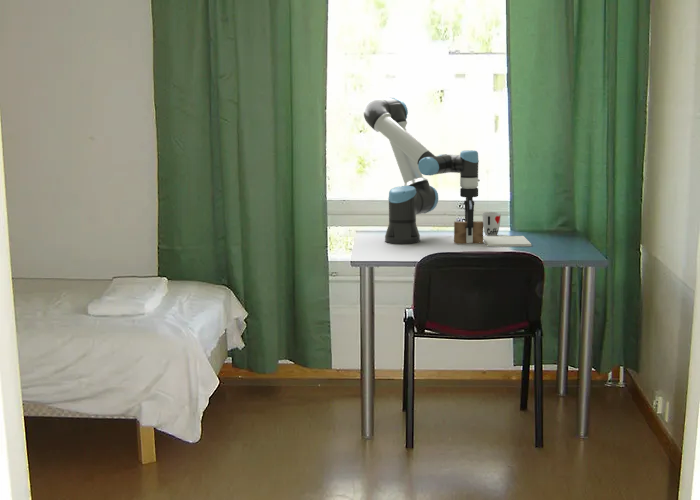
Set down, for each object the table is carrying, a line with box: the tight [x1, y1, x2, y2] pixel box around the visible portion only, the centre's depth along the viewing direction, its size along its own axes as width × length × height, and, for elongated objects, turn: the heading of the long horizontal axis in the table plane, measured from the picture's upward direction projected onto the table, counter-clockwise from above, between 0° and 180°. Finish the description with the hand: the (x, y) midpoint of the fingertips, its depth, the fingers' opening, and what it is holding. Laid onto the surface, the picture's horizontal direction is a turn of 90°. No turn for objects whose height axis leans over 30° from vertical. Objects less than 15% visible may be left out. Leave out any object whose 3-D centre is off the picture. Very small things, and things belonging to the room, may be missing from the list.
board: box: [453, 220, 484, 245], centre depth 364 cm, size 12×3×9 cm, turn 88°
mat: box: [483, 235, 533, 248], centre depth 365 cm, size 18×20×1 cm
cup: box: [481, 211, 502, 236], centre depth 382 cm, size 8×8×10 cm
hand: (469, 242), depth 365 cm, fingers closed on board, 3 cm apart
